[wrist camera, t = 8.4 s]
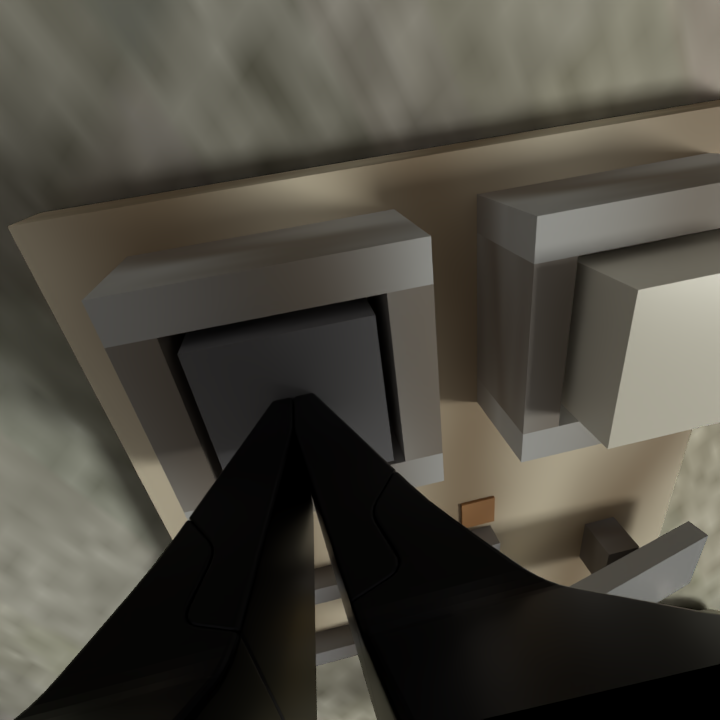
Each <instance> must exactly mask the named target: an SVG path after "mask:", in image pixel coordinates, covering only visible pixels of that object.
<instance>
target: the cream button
mask: <svg viewBox="0 0 720 720" xmlns="http://www.w3.org/2000/svg"><path fill="white" fill-rule="evenodd" d="M561 404H562V405H563V406H564V407H565V408H566V409H567V410H568V411H569V412H570V413H571V414H572V415H573V416H574V417H575V418H576V419H577V420H578V421H579V422H580V423H581V424H582V425H583V426H584V427H585V428H586V429H587V430H589V431H590V432H591V433H592V434H593V435H594V436H595V437H596V438H597V439H598V440H599V441H600V442H601V443H602V444H603V445H604V446H605V447H606V448H607V449H611V448H615V447H619V446H623V445H627V444H632V443H636V442H640V441H644V440H648V439H653V438H657V437H661V436H665V435H669V434H674V433H678V432H682V431H686V430H690V429H695V428H699V427H703V426H707V425H712V424H716V423H720V229H717V230H712V231H706V232H701V233H696V234H691V235H686V236H681V237H676V238H671V239H665V240H660V241H655V242H650V243H645V244H640V245H635V246H630V247H625V248H619V249H614V250H609V251H604V252H599V253H594V254H589V255H584V256H578V261H577V270H576V278H575V287H574V296H573V304H572V313H571V322H570V330H569V339H568V348H567V356H566V365H565V374H564V382H563V391H562V400H561Z"/></svg>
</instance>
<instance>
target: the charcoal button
mask: <svg viewBox="0 0 720 720" xmlns="http://www.w3.org/2000/svg"><path fill="white" fill-rule="evenodd" d="M177 355H178V357H179V360H180V362H181V365H182V367H183V370H184V373H185V375H186V378H187V380H188V383H189V385H190V388H191V390H192V393H193V395H194V398H195V400H196V403H197V406H198V408H199V411H200V413H201V416H202V418H203V421H204V423H205V426H206V428H207V431H208V434H209V436H210V439H211V441H212V444H213V446H214V449H215V451H216V454H217V456H218V459H219V462H220V464H221V467H222V469H223V470H224V468H225V467H226V465H227V464H228V463H229V461H230V460H231V458H232V457H233V456H234V454H235V453H236V451H237V450H238V449H239V447H240V446H241V444H242V443H243V442H244V440H245V439H246V437H247V436H248V435H249V433H250V432H251V430H252V429H253V428H254V426H255V425H256V424H257V422H258V421H259V419H260V418H261V417H262V415H263V414H264V412H265V411H266V410H267V408H268V407H269V405H270V404H271V403H272V402H273V401H275V400H280V399H285V398H292V399H293V400H294V398H295V397H296V396H299V395H303V394H308V393H314V394H316V395H317V396H318V397H319V398H320V399H321V400H322V401H323V402H324V403H325V404H326V405H327V406H328V407H329V408H330V409H331V410H333V411H334V412H335V413H336V414H337V415H338V416H339V417H340V418H341V419H342V420H343V421H344V422H345V423H346V424H347V425H348V426H349V427H351V428H352V429H353V430H354V431H355V432H356V433H357V434H358V435H359V436H360V437H361V438H362V439H363V440H364V441H365V442H366V443H368V444H369V445H370V446H371V447H372V448H373V449H374V450H375V451H376V452H377V453H378V454H379V455H380V456H381V457H382V458H383V459H384V460H386V461H387V462H390V461H394V458H393V450H392V442H391V434H390V426H389V419H388V411H387V403H386V395H385V387H384V380H383V372H382V364H381V356H380V348H379V340H378V333H377V325H376V317H375V314H374V312H373V310H372V308H371V306H370V304H369V302H368V301H367V299H366V297H364V298H359V299H354V300H349V301H344V302H339V303H333V304H328V305H323V306H318V307H313V308H308V309H303V310H298V311H292V312H287V313H282V314H277V315H272V316H267V317H262V318H257V319H251V320H246V321H241V322H236V323H231V324H226V325H221V326H215V327H210V328H205V329H200V330H195V331H190V332H186V334H185V337H184V339H183V342H182V344H181V347H180V349H179V352H178V354H177Z"/></svg>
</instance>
